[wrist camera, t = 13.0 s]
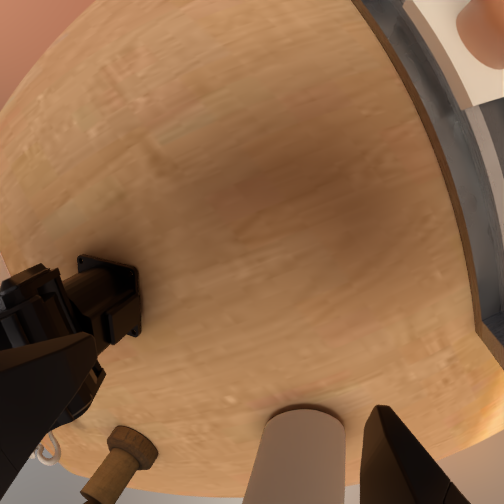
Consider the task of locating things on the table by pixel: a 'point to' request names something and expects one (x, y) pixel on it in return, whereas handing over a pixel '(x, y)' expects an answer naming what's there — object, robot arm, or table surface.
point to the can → (299, 461)
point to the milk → (3, 270)
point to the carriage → (464, 45)
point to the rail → (457, 160)
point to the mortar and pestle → (119, 466)
